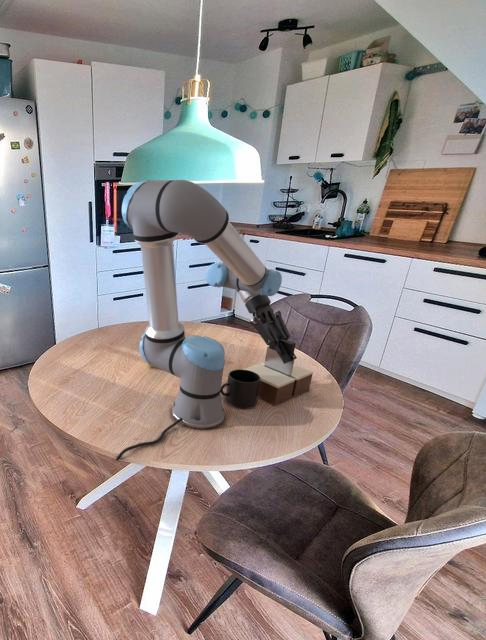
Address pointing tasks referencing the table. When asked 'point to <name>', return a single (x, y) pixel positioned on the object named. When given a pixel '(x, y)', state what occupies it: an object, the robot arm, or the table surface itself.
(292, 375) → the split beige slab
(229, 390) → the mug
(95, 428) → the table surface
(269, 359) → the dough scraper
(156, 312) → the robot arm
